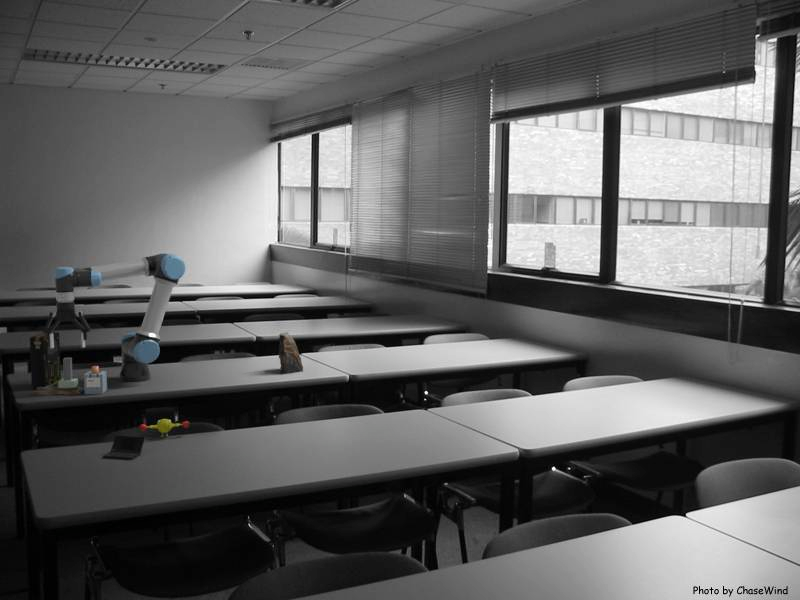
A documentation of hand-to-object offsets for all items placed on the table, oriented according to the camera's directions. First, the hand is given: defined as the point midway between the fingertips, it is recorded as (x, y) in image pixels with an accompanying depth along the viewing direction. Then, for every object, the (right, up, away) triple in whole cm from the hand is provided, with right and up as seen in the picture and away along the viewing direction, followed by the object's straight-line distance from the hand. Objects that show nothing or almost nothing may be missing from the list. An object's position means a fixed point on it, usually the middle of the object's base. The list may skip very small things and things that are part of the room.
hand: (67, 347), depth 356 cm
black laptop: (+57, -32, -88) cm, 109 cm away
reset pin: (+11, -14, +3) cm, 18 cm away
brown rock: (+94, -16, +56) cm, 111 cm away
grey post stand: (0, -18, +2) cm, 18 cm away
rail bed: (-5, -21, +2) cm, 22 cm away
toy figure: (+64, -29, -65) cm, 96 cm away
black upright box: (-17, -19, +15) cm, 30 cm away
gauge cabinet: (+11, -21, +4) cm, 24 cm away
